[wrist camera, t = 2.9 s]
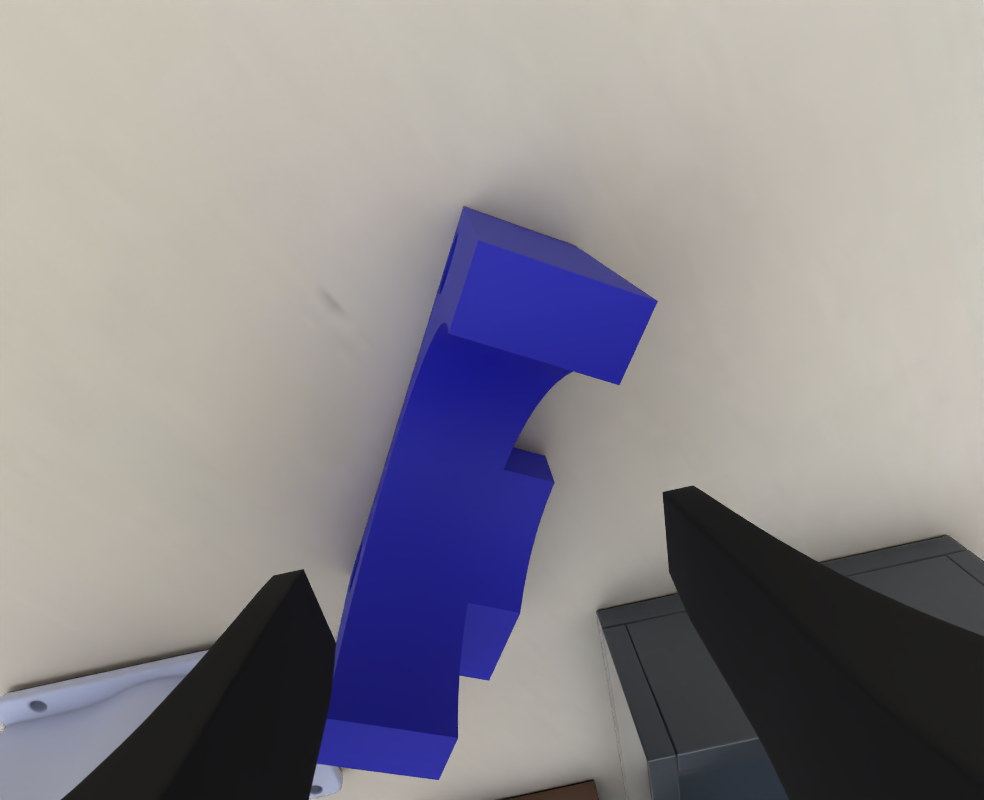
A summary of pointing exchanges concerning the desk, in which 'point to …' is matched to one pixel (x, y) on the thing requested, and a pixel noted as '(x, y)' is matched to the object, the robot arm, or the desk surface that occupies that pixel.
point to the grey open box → (707, 697)
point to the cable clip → (465, 488)
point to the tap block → (565, 793)
